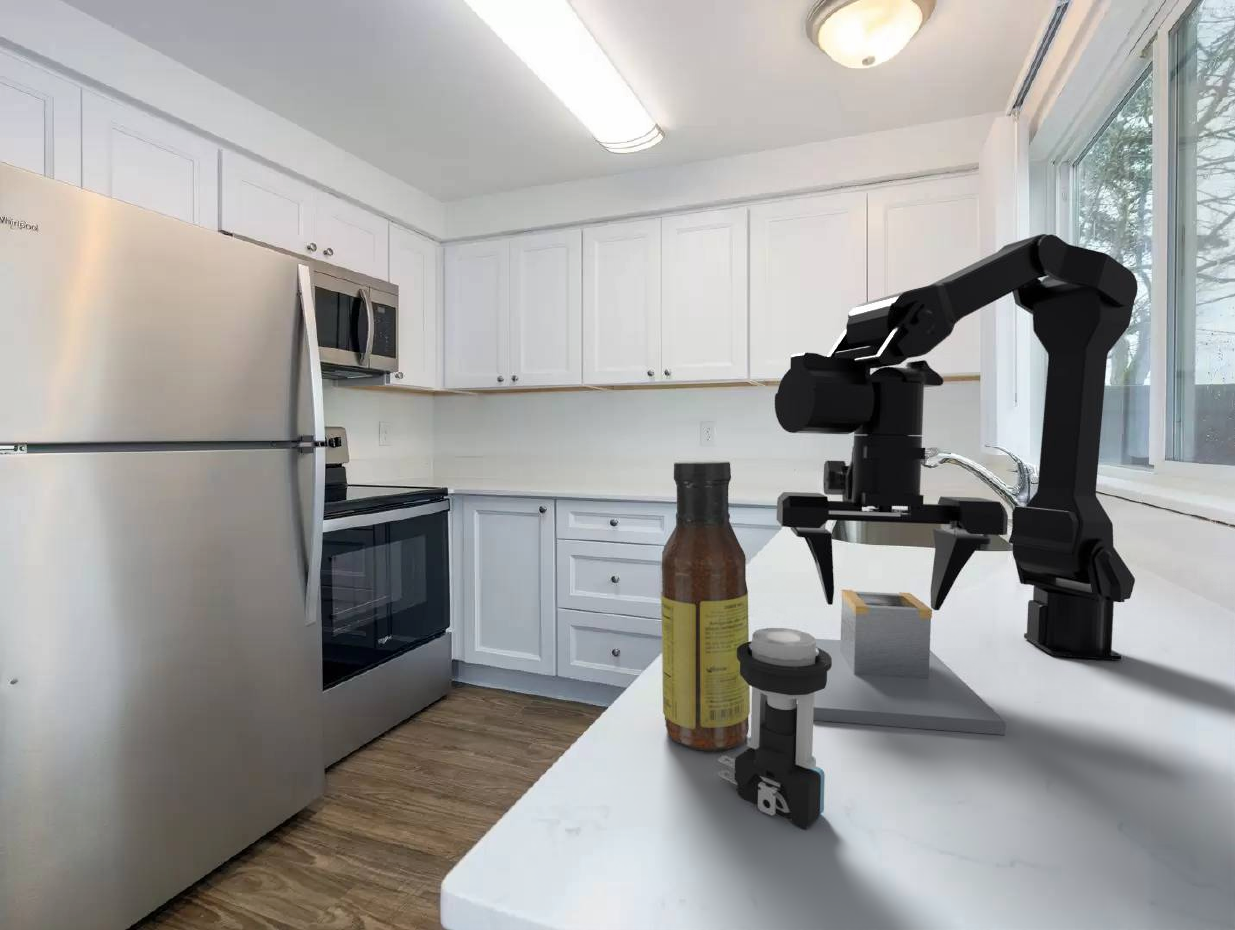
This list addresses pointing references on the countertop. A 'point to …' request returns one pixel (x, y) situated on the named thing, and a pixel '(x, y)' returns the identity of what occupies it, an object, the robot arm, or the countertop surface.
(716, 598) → the sauce bottle
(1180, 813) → the countertop surface
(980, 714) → the panel
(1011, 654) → the countertop surface
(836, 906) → the countertop surface
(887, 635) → the open cube shelf
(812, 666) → the push button
